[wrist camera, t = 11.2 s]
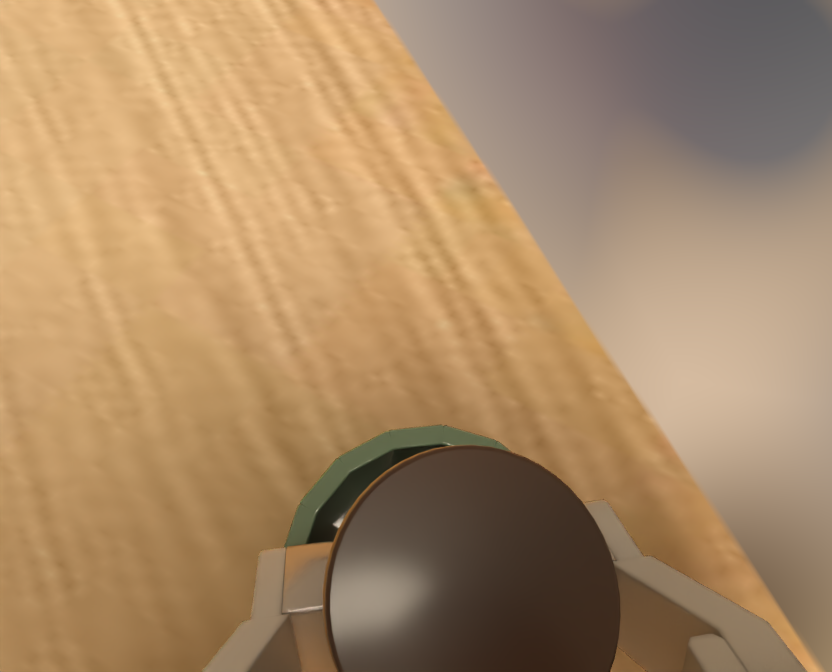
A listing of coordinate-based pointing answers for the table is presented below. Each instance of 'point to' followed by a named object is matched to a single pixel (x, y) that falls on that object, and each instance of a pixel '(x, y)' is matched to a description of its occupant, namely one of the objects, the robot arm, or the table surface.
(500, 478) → the rod
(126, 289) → the table surface
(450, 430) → the tumbler
